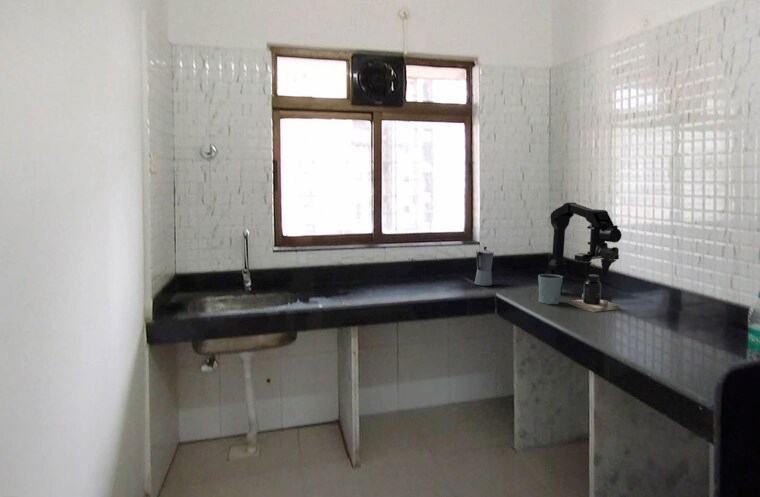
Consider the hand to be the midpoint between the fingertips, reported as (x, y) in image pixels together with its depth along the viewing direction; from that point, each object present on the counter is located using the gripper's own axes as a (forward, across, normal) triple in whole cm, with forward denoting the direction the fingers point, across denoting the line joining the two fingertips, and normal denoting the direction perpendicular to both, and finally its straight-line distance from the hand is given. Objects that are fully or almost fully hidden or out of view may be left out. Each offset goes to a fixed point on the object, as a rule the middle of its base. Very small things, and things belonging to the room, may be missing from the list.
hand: (595, 276), depth 208 cm
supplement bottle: (+12, -1, 0) cm, 12 cm away
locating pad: (+13, 0, 0) cm, 13 cm away
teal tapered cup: (+13, -13, +13) cm, 22 cm away
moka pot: (+13, -20, +57) cm, 62 cm away
